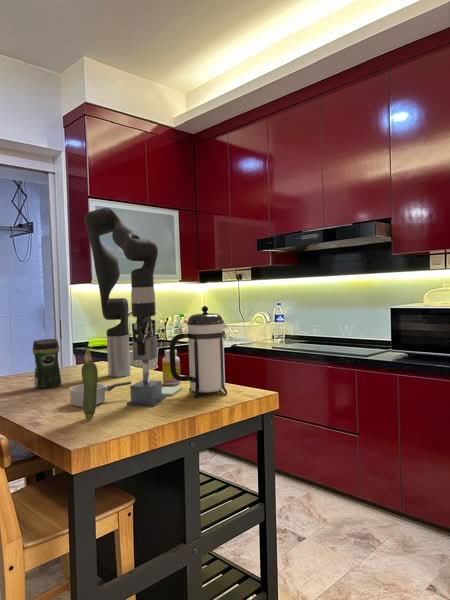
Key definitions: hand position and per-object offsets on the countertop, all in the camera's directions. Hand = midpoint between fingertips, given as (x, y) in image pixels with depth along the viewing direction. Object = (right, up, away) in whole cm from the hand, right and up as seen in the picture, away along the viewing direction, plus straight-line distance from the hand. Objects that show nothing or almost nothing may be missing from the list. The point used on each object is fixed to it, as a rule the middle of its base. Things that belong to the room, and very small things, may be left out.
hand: (145, 353), depth 141 cm
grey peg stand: (+1, -16, 0) cm, 16 cm away
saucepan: (-15, -16, +2) cm, 22 cm away
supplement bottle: (+5, -15, +27) cm, 31 cm away
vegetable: (-12, -17, -16) cm, 26 cm away
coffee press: (+19, -15, +9) cm, 25 cm away
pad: (+4, -15, +13) cm, 20 cm away
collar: (0, -2, 0) cm, 2 cm away
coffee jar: (-43, -17, +29) cm, 55 cm away
